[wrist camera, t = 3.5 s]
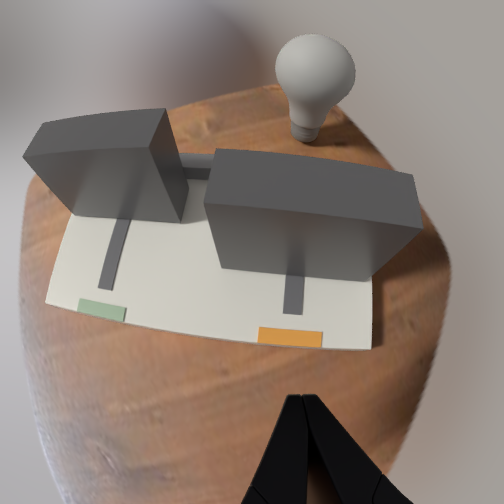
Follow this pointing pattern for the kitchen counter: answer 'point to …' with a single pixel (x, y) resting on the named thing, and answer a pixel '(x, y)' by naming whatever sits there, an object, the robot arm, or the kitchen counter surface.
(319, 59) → the lightbulb
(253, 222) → the block
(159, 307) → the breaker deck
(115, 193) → the block
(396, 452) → the kitchen counter surface
